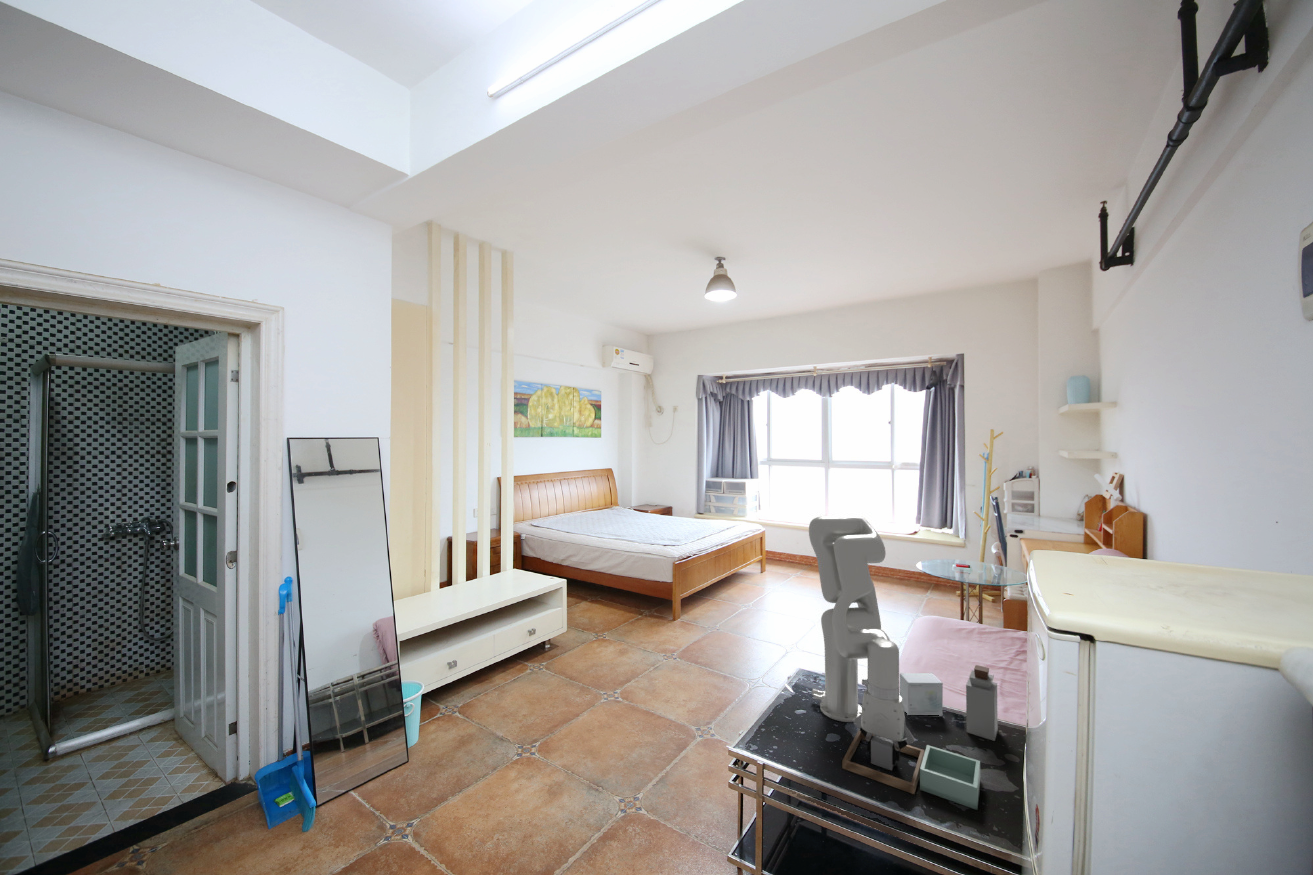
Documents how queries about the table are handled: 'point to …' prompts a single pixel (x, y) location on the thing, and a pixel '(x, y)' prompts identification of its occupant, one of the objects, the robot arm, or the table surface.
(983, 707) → the perfume bottle
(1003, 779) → the table surface
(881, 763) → the stone block
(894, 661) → the robot arm
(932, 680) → the skincare box
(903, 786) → the brown wooden frame
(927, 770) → the sage green bin
